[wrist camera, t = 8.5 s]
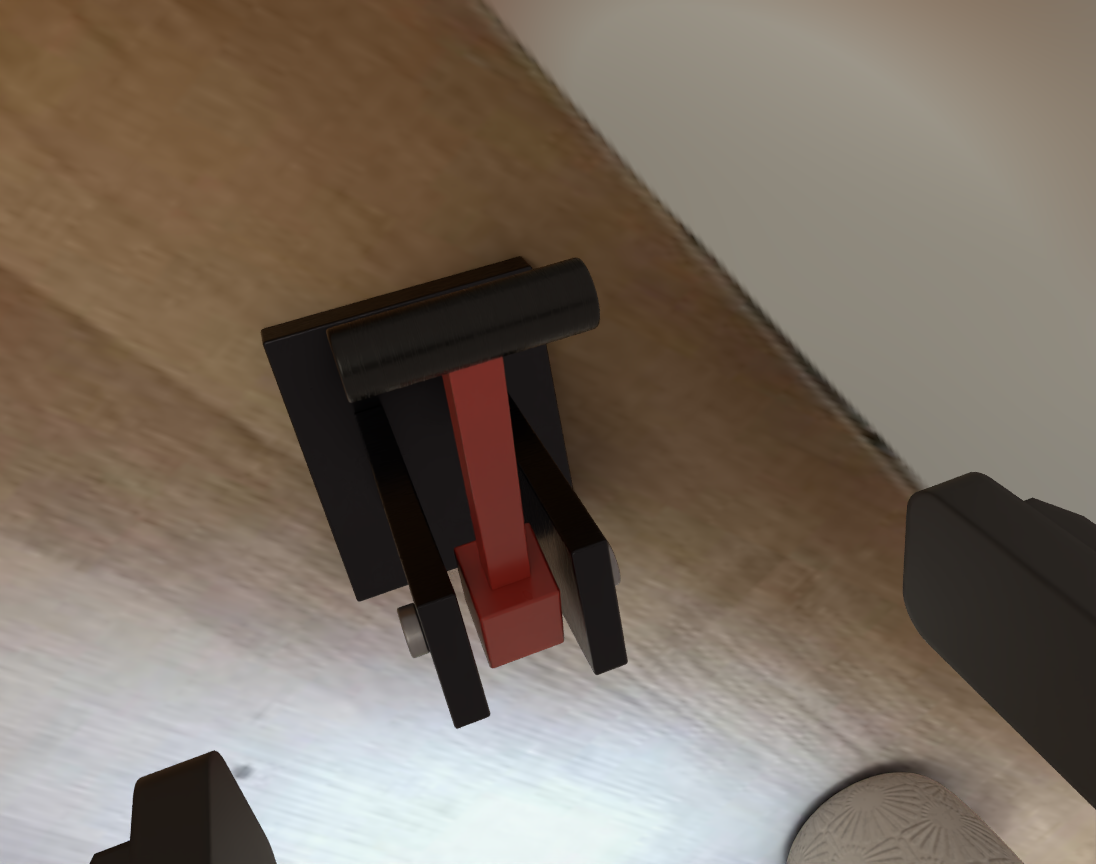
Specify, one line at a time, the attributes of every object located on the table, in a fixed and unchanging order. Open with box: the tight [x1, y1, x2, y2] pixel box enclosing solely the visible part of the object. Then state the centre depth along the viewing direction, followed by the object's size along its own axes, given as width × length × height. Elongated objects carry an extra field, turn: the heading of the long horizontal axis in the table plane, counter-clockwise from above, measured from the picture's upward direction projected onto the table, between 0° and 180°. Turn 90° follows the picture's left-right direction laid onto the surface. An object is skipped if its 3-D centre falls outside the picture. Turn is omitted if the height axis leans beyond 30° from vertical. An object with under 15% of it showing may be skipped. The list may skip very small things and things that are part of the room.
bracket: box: [261, 256, 628, 729], centre depth 29 cm, size 11×9×12 cm
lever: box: [326, 258, 600, 668], centre depth 22 cm, size 12×5×2 cm, turn 10°
